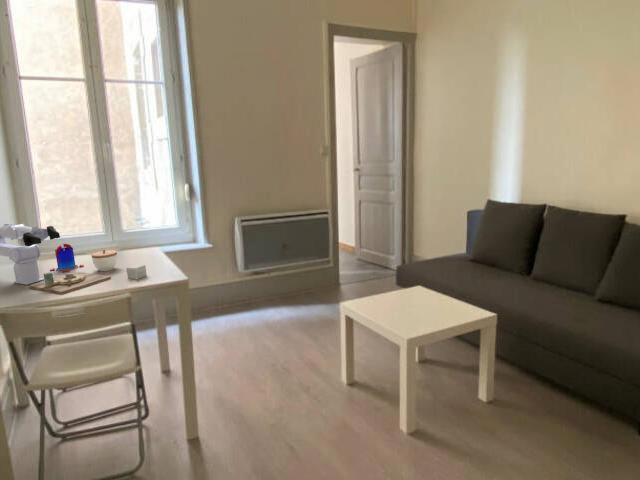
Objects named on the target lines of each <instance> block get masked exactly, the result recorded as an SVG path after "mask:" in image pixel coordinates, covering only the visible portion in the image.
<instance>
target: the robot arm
mask: <svg viewBox="0 0 640 480" xmlns="http://www.w3.org/2000/svg"><path fill="white" fill-rule="evenodd" d="M60 235H61V234H60V233H59V232H58V231H57V229H56V228H54V226H52V225H49V226H46V228H41V227H38V225H33V226H27V225H26V224H25V223H20V224H15V223H11V224H10V223H4V224H3V225H1V226H0V256H3V257H8V258H9V260H11V261H12V262H13V263H14V264H13V273H14V277H15V280H14V281H13V283H15V284H19V285H20V284H21V285H25V286H26V285H27V286H28V285H32V284H35V283H39V282H43V281H45V280H44V277H41V276H40V271H39V266H38V261H39V258H40V257H41V249H40V247H39V244H42V242H43V241H44V240H45V239H47V238H48V237H49V240H50V241H51V240H55V239H60V238H61V236H60ZM6 239H10V241H14V240H17V242H18V244H24V245H15V244H8V243H7V242H6Z"/></svg>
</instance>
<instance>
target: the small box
mask: <svg viewBox="0 0 640 480" xmlns="http://www.w3.org/2000/svg"><path fill="white" fill-rule="evenodd" d="M125 270H126V274H127V279H130V278H131V280H139V279H142V278H144V277H146V276H148V275H147V268H146V264H133V265H129V266H128V267H127V266H126V269H125Z"/></svg>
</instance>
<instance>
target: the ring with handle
mask: <svg viewBox="0 0 640 480" xmlns="http://www.w3.org/2000/svg"><path fill="white" fill-rule="evenodd" d="M53 274H54V273H53V272H52V271H51V272H50V271H49V272H44V273H43V278H44V280H43V281H45V283H44V285H45V286H47V287H48V286H52V285H56V284H68V280H66V276H64V275H61V276H62V277H60V276H59V277H60V278H57V277H56V278H57V279H55V280H53V278H54V276H53ZM85 278H86V277H85V275H83V274H80V275H79V274H74V279H71V283H75V282H79V281H81V280H84V279H85ZM69 280H70V279H69Z"/></svg>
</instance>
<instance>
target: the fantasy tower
mask: <svg viewBox="0 0 640 480" xmlns="http://www.w3.org/2000/svg"><path fill="white" fill-rule="evenodd" d="M61 245H62V244H61ZM61 245H59V246H57V248H56V249H55V250H54V251H55V252H54V255H55V258H56V259H55V260H56V264H57V267H56V268H51V269H50V270H49V272H51V273H52V272H62V273H64V274H65V273H70V272H71V271H73V270H77V269H79V268H80V269H81V268H85V265H84V264H79V265H76V260H75V253H74V248H73V247H72V246H71V244H69V243H63V246H61Z"/></svg>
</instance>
